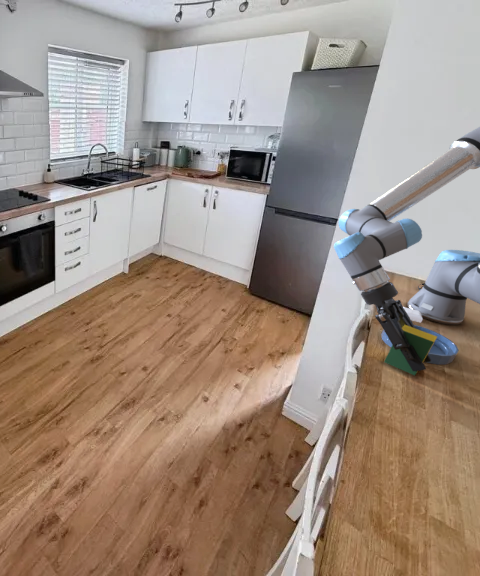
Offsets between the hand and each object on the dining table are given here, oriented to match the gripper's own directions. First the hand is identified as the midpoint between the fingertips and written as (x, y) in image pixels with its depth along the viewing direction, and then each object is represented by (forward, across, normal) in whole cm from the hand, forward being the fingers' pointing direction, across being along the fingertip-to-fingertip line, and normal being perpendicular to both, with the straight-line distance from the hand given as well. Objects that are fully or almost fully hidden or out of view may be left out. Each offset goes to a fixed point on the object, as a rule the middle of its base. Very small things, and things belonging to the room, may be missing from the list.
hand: (422, 365), depth 97 cm
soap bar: (-6, -35, -10) cm, 37 cm away
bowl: (-1, -15, -5) cm, 16 cm away
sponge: (-1, 0, -5) cm, 5 cm away
